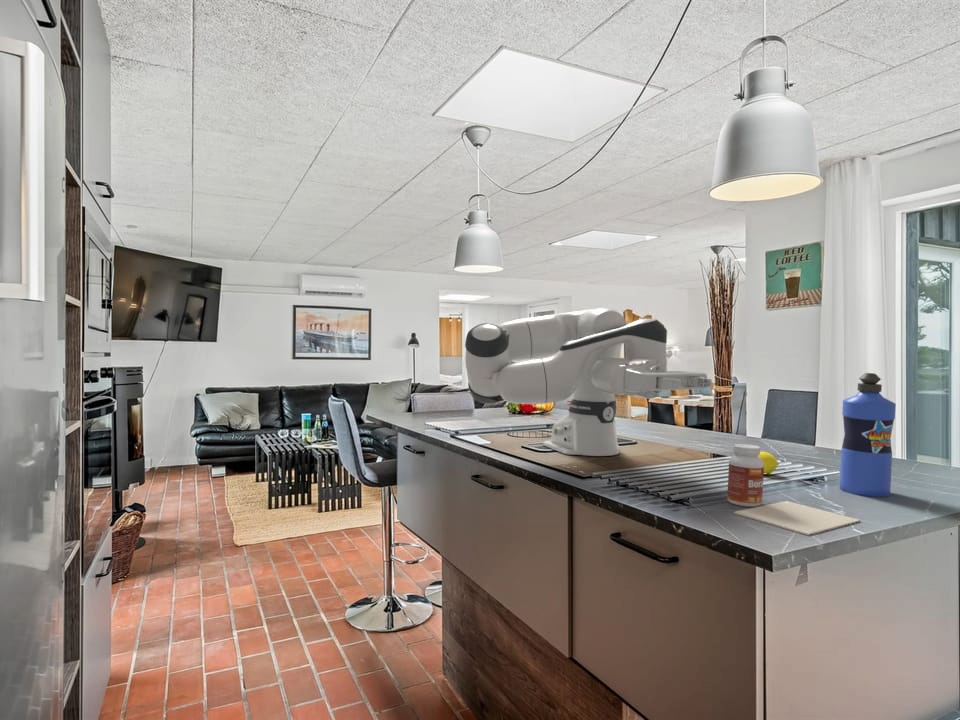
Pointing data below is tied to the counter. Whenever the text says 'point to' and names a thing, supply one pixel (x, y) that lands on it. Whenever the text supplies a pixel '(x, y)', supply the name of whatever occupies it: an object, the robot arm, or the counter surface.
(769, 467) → the lemon
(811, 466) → the counter surface
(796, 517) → the mat
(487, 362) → the robot arm
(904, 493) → the counter surface
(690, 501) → the counter surface
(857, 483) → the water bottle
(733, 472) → the pill bottle
